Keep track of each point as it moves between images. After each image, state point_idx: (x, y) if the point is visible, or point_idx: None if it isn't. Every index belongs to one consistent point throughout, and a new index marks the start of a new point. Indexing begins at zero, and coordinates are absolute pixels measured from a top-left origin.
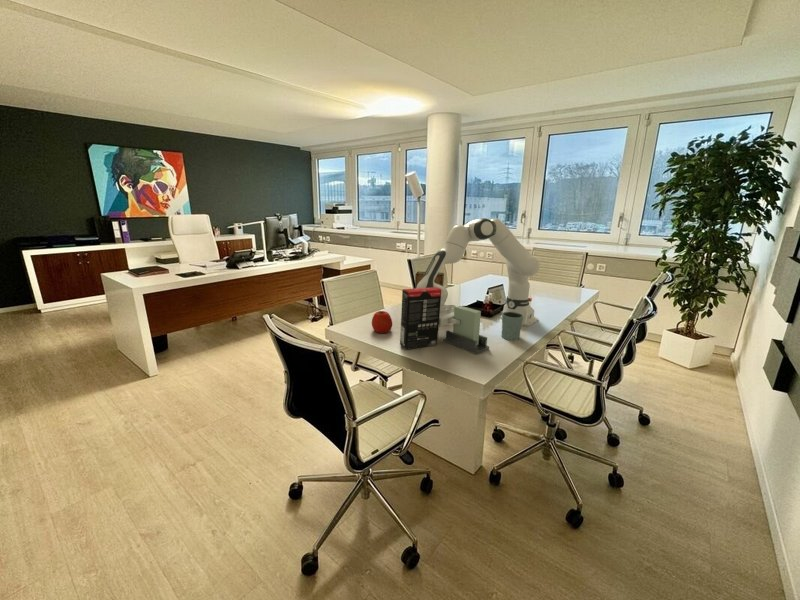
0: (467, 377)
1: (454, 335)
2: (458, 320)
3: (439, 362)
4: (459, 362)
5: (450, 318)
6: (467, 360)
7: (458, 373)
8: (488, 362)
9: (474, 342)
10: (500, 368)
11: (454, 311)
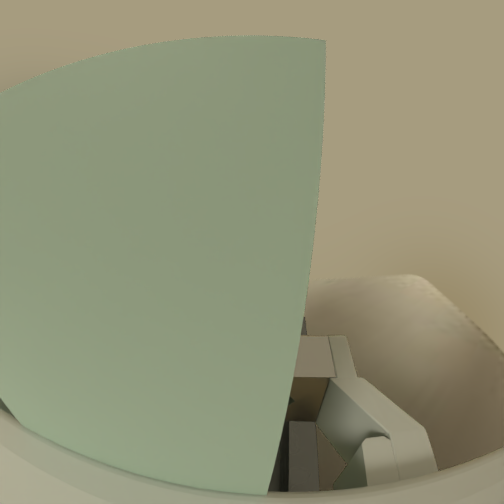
0: (441, 297)
1: (315, 488)
2: (338, 342)
3: (493, 383)
4: (422, 354)
5: (426, 472)
6: (380, 351)
7: (457, 315)
8: (314, 308)
9: (304, 323)
10: (315, 280)
11: (287, 385)
